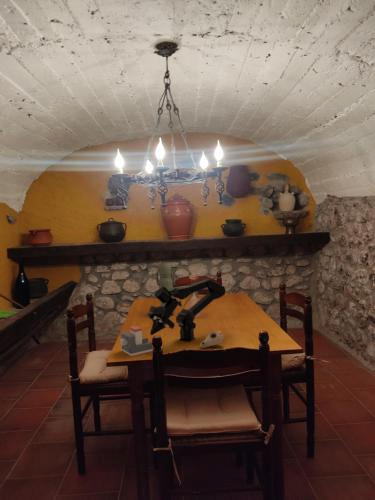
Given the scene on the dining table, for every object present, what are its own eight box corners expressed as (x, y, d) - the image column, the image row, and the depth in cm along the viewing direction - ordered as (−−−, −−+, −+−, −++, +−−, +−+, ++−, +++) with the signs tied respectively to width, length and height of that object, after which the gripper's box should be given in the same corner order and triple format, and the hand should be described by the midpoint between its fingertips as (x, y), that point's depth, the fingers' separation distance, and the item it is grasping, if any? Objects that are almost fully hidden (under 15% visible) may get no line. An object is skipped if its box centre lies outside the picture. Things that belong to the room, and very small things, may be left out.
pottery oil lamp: (196, 345, 206) (196, 331, 206) (218, 342, 210) (218, 328, 210) (203, 350, 198) (203, 336, 197) (226, 347, 202) (225, 333, 202)
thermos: (157, 314, 276) (155, 261, 273) (175, 313, 277) (173, 261, 274) (158, 317, 267) (156, 263, 264) (176, 316, 268) (174, 262, 266)
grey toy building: (146, 343, 209) (145, 327, 209) (156, 348, 201) (155, 331, 200) (122, 348, 202) (121, 332, 201) (131, 353, 194) (130, 337, 193)
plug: (136, 346, 204) (135, 325, 203) (142, 349, 199) (141, 328, 198) (119, 350, 199) (118, 329, 198) (124, 353, 194) (123, 331, 193)
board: (146, 345, 209) (146, 343, 209) (156, 350, 201) (156, 348, 201) (122, 350, 202) (122, 348, 202) (131, 356, 194) (131, 353, 194)
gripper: (149, 296, 214) (131, 321, 209) (167, 302, 198) (149, 329, 193) (163, 309, 219) (146, 333, 214) (182, 315, 203) (164, 342, 198)
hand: (150, 334), depth 205 cm, fingers closed
